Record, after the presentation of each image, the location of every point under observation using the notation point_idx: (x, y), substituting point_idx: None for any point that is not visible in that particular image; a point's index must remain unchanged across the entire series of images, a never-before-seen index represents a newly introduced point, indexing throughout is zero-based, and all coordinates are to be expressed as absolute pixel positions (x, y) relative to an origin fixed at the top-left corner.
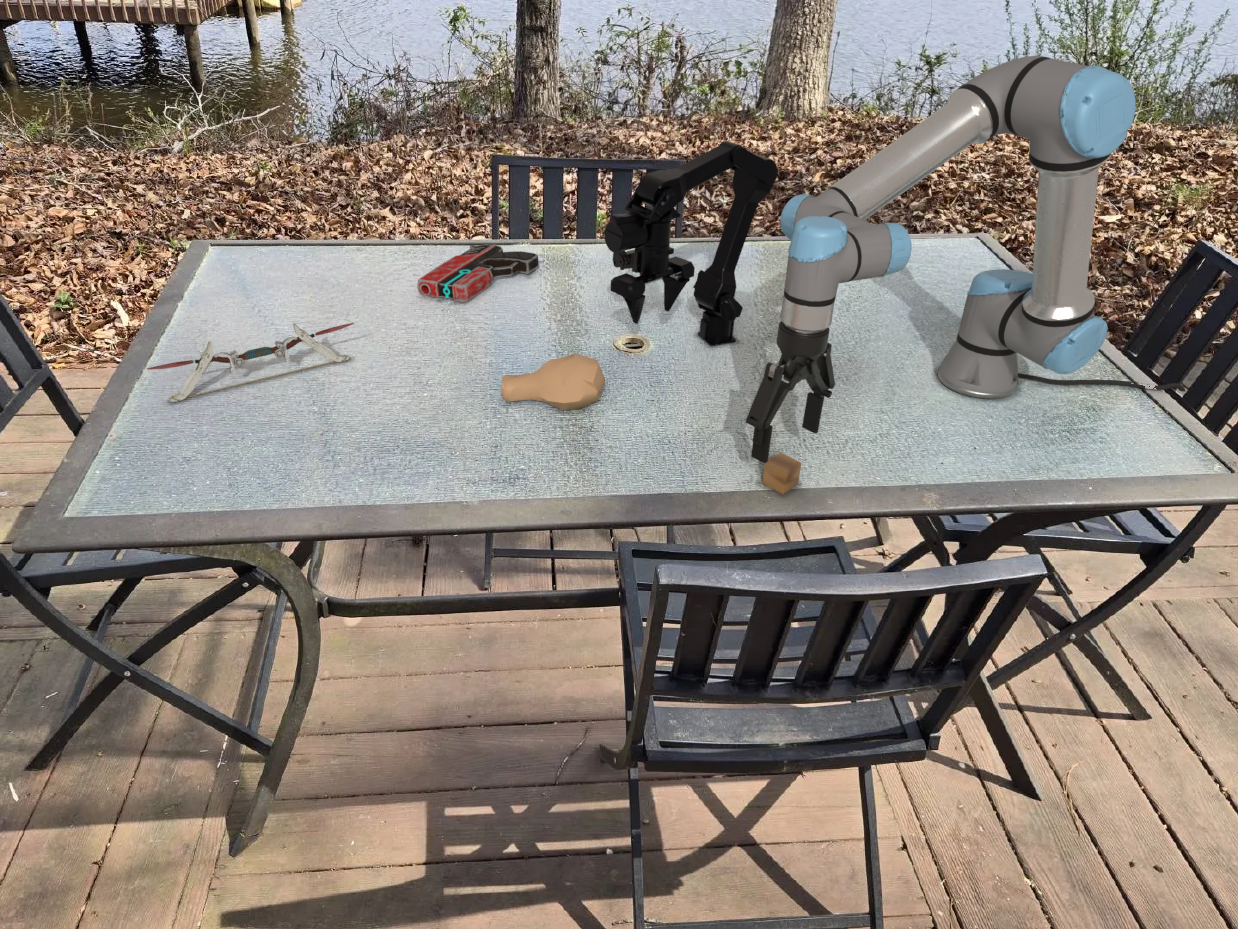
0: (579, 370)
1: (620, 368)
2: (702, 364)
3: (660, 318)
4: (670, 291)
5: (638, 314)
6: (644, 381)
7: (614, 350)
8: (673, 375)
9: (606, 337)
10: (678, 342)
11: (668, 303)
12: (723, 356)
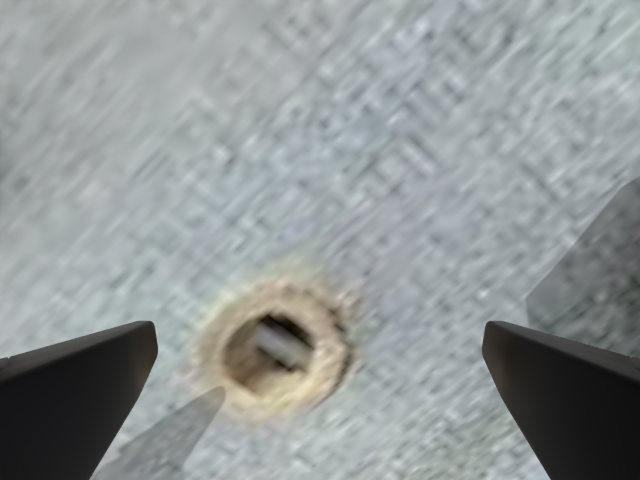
0: None
1: (468, 245)
2: (157, 19)
3: None
4: (38, 453)
5: (585, 346)
6: (495, 91)
7: (366, 359)
8: (353, 37)
9: (310, 440)
10: (107, 252)
11: (123, 363)
12: (5, 4)
